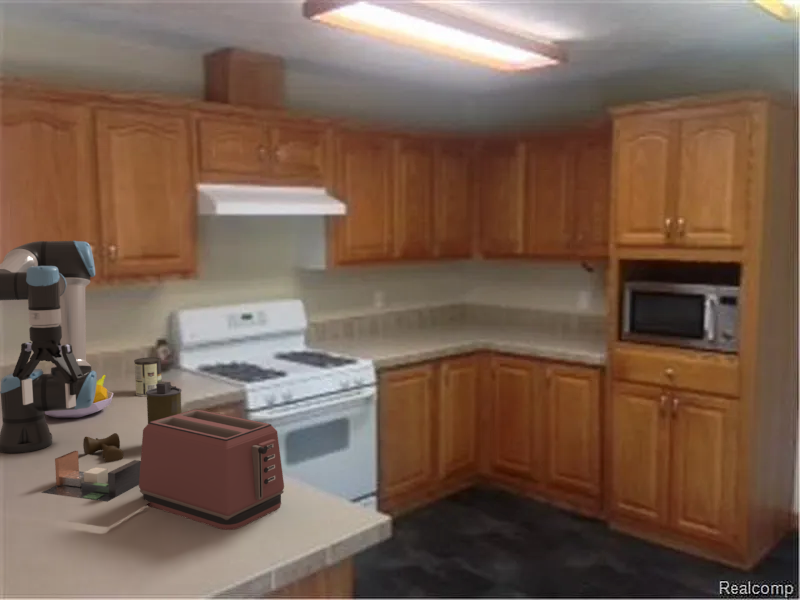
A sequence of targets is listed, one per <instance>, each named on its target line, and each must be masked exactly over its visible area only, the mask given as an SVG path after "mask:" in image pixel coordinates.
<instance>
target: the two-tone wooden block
mask: <svg viewBox="0 0 800 600" xmlns="http://www.w3.org/2000/svg"><path fill="white" fill-rule="evenodd" d="M79 462H80V461H79V450H73V451H70V452H68V453H66V454H63V455H61V456H59V457H56V458H54V464H55V465H54V466H55V482H56V483H55V484H56V485H59V486H60V485H62V484H63V485H70V486H78V487H81V483H83V482H84V472H85V471H80V465H79V464H80V463H79ZM56 485H55V486H56Z"/></svg>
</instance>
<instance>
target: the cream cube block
mask: <svg viewBox="0 0 800 600" xmlns="http://www.w3.org/2000/svg"><path fill="white" fill-rule="evenodd" d="M83 472H84V482H91V483H96V482H97V483H105V484H108V473H109V471H108V468H104V467H96V466H95V467H92V468H91V469H89V470H85V471H83Z"/></svg>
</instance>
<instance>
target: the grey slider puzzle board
mask: <svg viewBox="0 0 800 600" xmlns="http://www.w3.org/2000/svg"><path fill="white" fill-rule="evenodd" d="M140 465H141V460H137V459H134V460H131V461H129V462H128V463H125V464H124V465H121V466H119V467H116V468H115V469H113V470H111V471H108V484H105V483H97V482H96V483H91V482H83V483H81V487H78V486H70V485H63V484H62V485H60V486H59V485H54V486H52V487H50V488H47V489H46V490H43V491H41V493H42V494H49V495H57V496H64V497H71V498H78V499H85V500H93V501H97V502H98V501H99V502H100V501H101V502H106V503H108V502H109V501H112V500H113V499H115V498H117V497H118V496H121V495H123V494H124V493H127V492H128V491H130V490H131V489H134V488H135V487H139V478H140Z"/></svg>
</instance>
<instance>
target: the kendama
mask: <svg viewBox="0 0 800 600" xmlns="http://www.w3.org/2000/svg"><path fill="white" fill-rule="evenodd" d="M82 441H83V443H82V447H83V452H84V453H83V454H84V455H85V456H89V455H90V456H92V455H94V453H96V452H99V451H101V452H102V453H101V457H102V458H103V459H104V462H105V463H111V462H112V463H113V462H118V461H121V460H123V459H124V455H125V454H124V452H123V450H122V449H120V448H121V441H120V436H119V434H118V433H117V432H116V433H112V434H111V435H108V436H107V437H105V438H104V437H103V438H98V437H97V438H96V437H95V438H92V437H90V436H84V437H83V440H82Z"/></svg>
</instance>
